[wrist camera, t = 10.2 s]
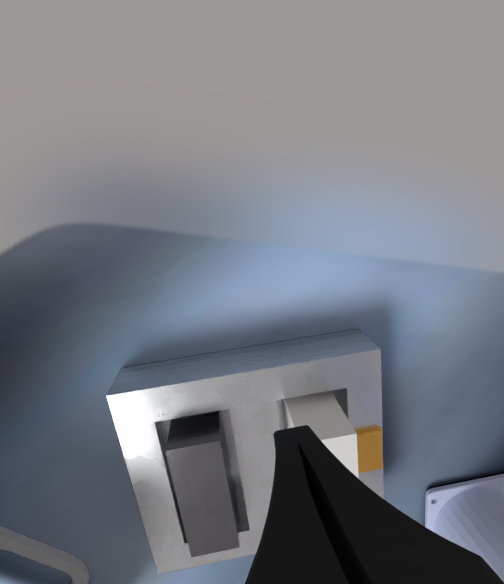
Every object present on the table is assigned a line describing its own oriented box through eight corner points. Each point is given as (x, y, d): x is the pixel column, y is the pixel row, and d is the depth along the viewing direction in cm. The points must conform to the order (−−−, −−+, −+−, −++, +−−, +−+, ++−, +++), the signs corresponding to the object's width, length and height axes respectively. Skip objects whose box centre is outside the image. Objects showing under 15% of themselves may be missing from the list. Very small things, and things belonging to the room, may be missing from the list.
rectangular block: (330, 472, 25) (361, 546, 20) (291, 480, 25) (312, 556, 20) (323, 378, 23) (356, 433, 18) (280, 386, 23) (300, 444, 17)
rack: (364, 489, 27) (396, 549, 22) (164, 529, 26) (153, 601, 21) (358, 328, 23) (395, 361, 18) (121, 368, 22) (96, 413, 17)
